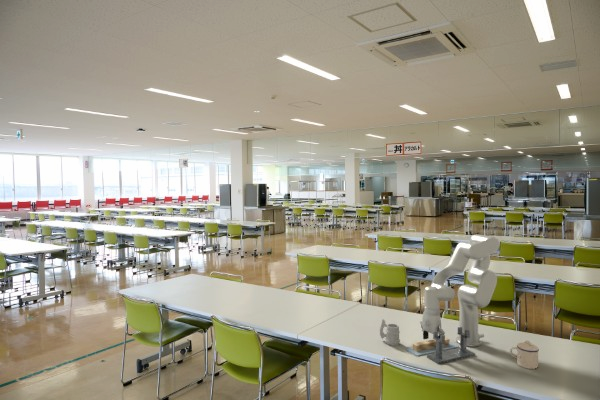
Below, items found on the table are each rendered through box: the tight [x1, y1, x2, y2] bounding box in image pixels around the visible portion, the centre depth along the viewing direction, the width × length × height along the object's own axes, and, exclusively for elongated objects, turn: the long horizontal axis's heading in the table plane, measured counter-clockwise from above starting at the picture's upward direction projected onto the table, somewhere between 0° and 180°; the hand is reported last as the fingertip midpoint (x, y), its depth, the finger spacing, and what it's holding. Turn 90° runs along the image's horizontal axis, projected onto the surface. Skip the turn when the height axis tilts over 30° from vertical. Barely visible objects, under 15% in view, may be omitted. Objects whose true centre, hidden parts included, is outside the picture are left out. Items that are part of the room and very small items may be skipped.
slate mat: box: [403, 341, 460, 357], centre depth 204 cm, size 28×10×1 cm, turn 113°
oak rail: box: [412, 336, 451, 352], centre depth 204 cm, size 22×3×3 cm, turn 112°
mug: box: [379, 319, 401, 347], centre depth 211 cm, size 8×12×12 cm, turn 50°
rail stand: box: [426, 326, 476, 365], centre depth 193 cm, size 24×8×13 cm, turn 113°
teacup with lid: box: [509, 340, 540, 370], centre depth 185 cm, size 12×9×12 cm
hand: (432, 342), depth 204 cm, fingers open, 9 cm apart
